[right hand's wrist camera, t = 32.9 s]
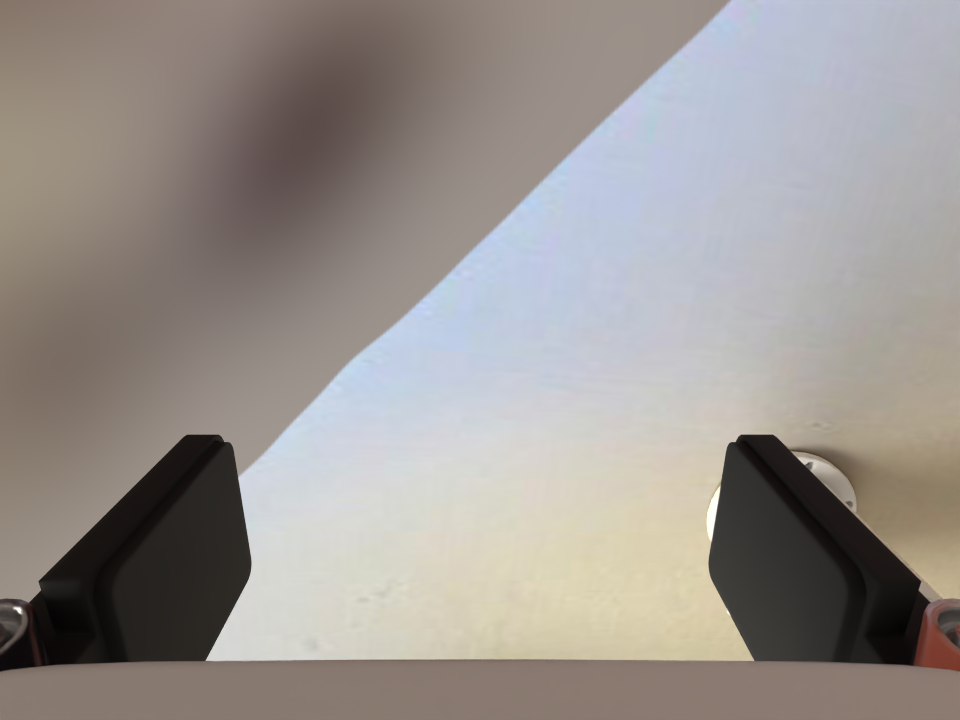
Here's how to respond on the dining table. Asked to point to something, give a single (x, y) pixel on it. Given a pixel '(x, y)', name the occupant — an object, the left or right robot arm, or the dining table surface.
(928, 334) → the dining table surface
